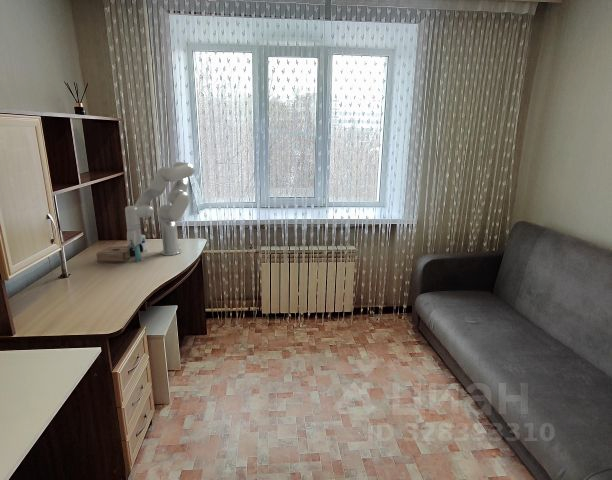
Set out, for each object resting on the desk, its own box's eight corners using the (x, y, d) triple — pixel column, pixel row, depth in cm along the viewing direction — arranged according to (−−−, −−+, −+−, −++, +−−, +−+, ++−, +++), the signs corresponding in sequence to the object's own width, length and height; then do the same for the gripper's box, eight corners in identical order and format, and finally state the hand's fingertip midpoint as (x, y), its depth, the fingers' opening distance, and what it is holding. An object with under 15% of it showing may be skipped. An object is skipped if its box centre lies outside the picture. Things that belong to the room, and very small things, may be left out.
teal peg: (137, 260, 246) (135, 244, 243) (142, 260, 246) (140, 244, 243) (134, 261, 243) (132, 246, 240) (139, 261, 243) (137, 246, 240)
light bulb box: (147, 250, 264) (145, 235, 261) (138, 253, 259) (136, 237, 256) (137, 248, 270) (135, 232, 266) (128, 250, 264) (126, 235, 261)
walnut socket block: (111, 254, 256) (110, 245, 255) (135, 255, 255) (134, 246, 254) (97, 262, 241) (96, 253, 239) (123, 263, 240) (121, 254, 238)
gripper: (134, 223, 247) (137, 249, 251) (120, 230, 230) (123, 258, 234) (146, 223, 246) (148, 250, 251) (132, 230, 229) (135, 258, 234)
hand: (136, 254), depth 243 cm, fingers open, 9 cm apart
